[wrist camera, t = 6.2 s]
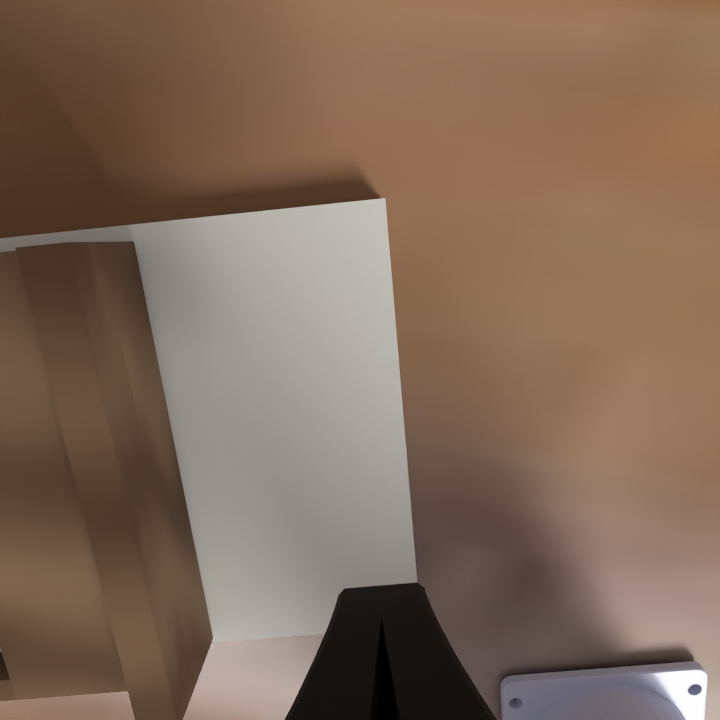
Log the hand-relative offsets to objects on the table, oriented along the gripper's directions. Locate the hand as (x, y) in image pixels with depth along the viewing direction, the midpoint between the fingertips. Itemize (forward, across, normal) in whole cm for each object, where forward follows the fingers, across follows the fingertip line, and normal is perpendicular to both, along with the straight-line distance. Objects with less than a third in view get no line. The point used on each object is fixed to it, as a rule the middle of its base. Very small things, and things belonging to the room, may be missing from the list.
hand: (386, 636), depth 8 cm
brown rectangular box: (+8, +11, 0) cm, 14 cm away
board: (+10, +8, 0) cm, 13 cm away
